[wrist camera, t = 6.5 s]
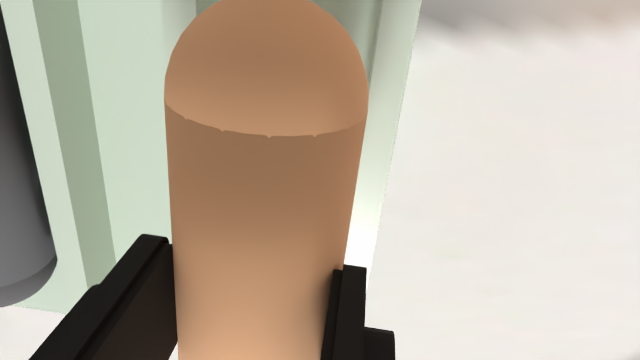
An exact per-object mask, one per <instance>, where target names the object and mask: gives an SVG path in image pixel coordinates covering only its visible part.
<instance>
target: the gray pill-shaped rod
mask: <svg viewBox="0 0 640 360" xmlns="http://www.w3.org/2000/svg"><path fill="white" fill-rule="evenodd" d="M57 260H58V259H57V254H56V250H55V245H54V241H53V236H52V232H51V227H50V223H49V218H48V214H47V210H46V205H45V201H44V196H43V192H42V187H41V183H40V178H39V174H38V169H37V165H36V161H35V156H34V152H33V147H32V143H31V138H30V134H29V129H28V125H27V120H26V116H25V112H24V107H23V103H22V98H21V94H20V89H19V85H18V80H17V76H16V71H15V67H14V62H13V58H12V54H11V49H10V45H9V40H8V36H7V31H6V27H5V22H4V18H3V13H2V9H1V5H0V307H5V306H9V305H13V304H16V303H19V302H21V301H23V300H25V299H27V298H29V297H31V296H32V295H34V294H35V293H37V292H38V291H39V290H40V289H41V288H42V287H43V286H44V285H45V284H46V283H47V282H48V280H49V279H50V278H51V276H52V274H53V272H54V270H55V268H56V265H57Z"/></svg>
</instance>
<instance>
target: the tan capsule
mask: <svg viewBox="0 0 640 360" xmlns="http://www.w3.org/2000/svg"><path fill="white" fill-rule="evenodd" d="M368 100H369V88H368V81H367V75H366V70H365V67H364V65H363V62H362V59H361V56H360V53H359V51H358V48H357V47H356V45H355V43H354V42H353V40H352V38H351V37H350V35H349V34H348V32H347V31H346V30H345V29H344V27H343V26H342V25H341V24H340V23H339V22H338V21H337V20H336V19H335V18H334V17H333V16H332V15H331V14H329V13H328V12H326V11H325V10H324V9H322V8H321V7H319V6H318V5H316V4H315V3H313V2H311V1H308V0H221V1H219V2H216V3H214V4H213V5H211V6H210V7H208V8H207V9H206V10H205V11H203V12H202V13H201V14H199V15H198V16H197V17H195V18H194V20H193V21H192V22H191V23H190V24H189V25H188V27H187V28H186V29H185V30H184V31H183V33H182V34H181V36H180V38H179V39H178V41H177V43H176V45H175V47H174V49H173V51H172V53H171V56H170V60H169V63H168V67H167V71H166V75H165V84H164V109H165V127H166V144H167V162H168V180H169V198H170V216H171V233H172V248H173V266H174V283H175V301H176V319H177V336H178V358H179V360H320V358H321V351H322V344H323V337H324V331H325V324H326V317H327V310H328V303H329V296H330V290H331V283H332V276H333V270H334V269H338V270H343V264H344V260H345V253H346V247H347V241H348V234H349V228H350V221H351V215H352V209H353V202H354V196H355V190H356V183H357V177H358V171H359V164H360V158H361V152H362V145H363V139H364V132H365V126H366V120H367V113H368Z"/></svg>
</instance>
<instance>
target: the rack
mask: <svg viewBox="0 0 640 360" xmlns="http://www.w3.org/2000/svg"><path fill="white" fill-rule="evenodd" d="M219 1H221V0H0V5H1V9H2V13H3V18H4V22H5V27H6V31H7V36H8V40H9V45H10V49H11V54H12V58H13V62H14V67H15V71H16V76H17V80H18V85H19V89H20V94H21V98H22V103H23V107H24V112H25V116H26V120H27V125H28V129H29V134H30V138H31V143H32V147H33V152H34V156H35V161H36V165H37V169H38V174H39V178H40V183H41V187H42V192H43V196H44V201H45V205H46V210H47V214H48V218H49V223H50V227H51V232H52V236H53V241H54V245H55V250H56V254H57V259H58V260H57V265H56V268H55V270H54V272H53V274H52V276H51V278H50V279H49V280H48V282H47V283H46V284H45V285H44V286H43V287H42V288H41V289H40V290H39V291H38V292H37V293H35V294H34V295H32V296H31V297H29V298H27V299H25V300H23V301H21V302H19V303H16V304H13V305H11V306H17V307H24V308H31V309H37V310H44V311H51V312H57V313H64V314H68V313H69V311H70V310H71V309H72V308H73V307H74V305H75V304H76V303H77V302H78V301H79V299H80V298H81V297H82V296H83V295H84V294H85V292H86V291H87V290H88V289H89V288H90V287H91V286H93V285H96V284H100V283H101V282H102V281H103V279H104V278H105V277H106V276H107V275H108V273H109V272H110V271H111V270H112V268H113V267H114V266H115V265H116V264H117V262H118V261H119V260H120V259H121V257H122V256H123V255H124V254H125V253H126V251H127V250H128V249H129V248H130V247H131V245H132V244H133V243H134V242H135V240H136V239H137V238H138V237H139V236H140V235H141V234H150V235H157V236H163V237H167V238H168V240H169V244H172V233H171V216H170V198H169V180H168V162H167V144H166V127H165V109H164V84H165V75H166V71H167V67H168V63H169V60H170V56H171V53H172V51H173V49H174V47H175V45H176V43H177V41H178V39H179V38H180V36H181V34H182V33H183V31H184V30H185V29H186V28H187V27H188V25H189V24H190V23H191V22H192V21H193V20H194V18H195V17H197V16H198V15H199V14H201V13H202V12H203V11H205V10H206V9H207V8H208V7H210V6H211V5H213V4H214V3H216V2H219ZM308 1H311V2H313V3H315V4H316V5H318V6H319V7H321V8H322V9H324V10H325V11H326V12H328V13H329V14H331V15H332V16H333V17H334V18H335V19H336V20H337V21H338V22H339V23H340V24H341V25H342V26H343V27H344V29H345V30H346V31H347V32H348V34H349V35H350V37H351V38H352V40H353V42H354V43H355V45H356V47H357V48H358V51H359V53H360V56H361V59H362V62H363V65H364V67H365V70H366V75H367V81H368V88H369V100H368V113H367V120H366V126H365V132H364V139H363V145H362V152H361V158H360V164H359V171H358V177H357V183H356V190H355V196H354V202H353V209H352V215H351V221H350V228H349V234H348V241H347V247H346V253H345V260H344V264H348V265H354V266H361V267H367V278H366V290H367V285H368V280H369V275H370V269H371V264H372V259H373V254H374V248H375V243H376V238H377V233H378V227H379V222H380V217H381V212H382V206H383V201H384V196H385V191H386V185H387V180H388V175H389V170H390V164H391V159H392V154H393V149H394V143H395V138H396V133H397V128H398V122H399V117H400V112H401V107H402V101H403V96H404V91H405V86H406V80H407V75H408V70H409V65H410V59H411V54H412V49H413V44H414V38H415V33H416V28H417V23H418V17H419V12H420V7H421V2H422V0H308Z"/></svg>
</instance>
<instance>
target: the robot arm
mask: <svg viewBox="0 0 640 360" xmlns="http://www.w3.org/2000/svg"><path fill="white" fill-rule="evenodd" d="M366 278H367V267H361V266H354V265H348V264H343V270H338V269H334V270H333V276H332V283H331V290H330V296H329V303H328V310H327V317H326V324H325V331H324V337H323V344H322V351H321V358H320V360H395V339H394V332H393V331H388V330H382V329H376V328H369V327H364V323H365V301H366ZM177 341H178V336H177V319H176V301H175V283H174V266H173V248H172V244H169V240H168V238H167V237H163V236H157V235H150V234H141V235H140V236H139V237H138V238H137V239H136V240H135V242H134V243H133V244H132V245H131V247H130V248H129V249H128V250H127V251H126V253H125V254H124V255H123V256H122V257H121V259H120V260H119V261H118V262H117V264H116V265H115V266H114V267H113V268H112V270H111V271H110V272H109V273H108V275H107V276H106V277H105V278H104V279H103V281H102V282H101V283H100V284H96V285H93V286H91V287H90V288H89V289H88V290H87V291H86V292H85V294H84V295H83V296H82V297H81V298H80V299H79V301H78V302H77V303H76V304H75V305H74V307H73V308H72V309H71V310H70V311H69V313H68V314H67V315H66V316H65V317H64V318H63V320H62V321H61V322H60V323H59V324H58V326H57V327H56V328H55V329H54V330H53V332H52V333H51V334H50V335H49V336H48V337H47V339H46V340H45V341H44V342H43V343H42V345H41V346H40V347H39V348H38V349H37V350H36V352H35V353H34V354H33V355H32V356H31V358H30V359H29V360H168V359H169V357H170V355H171V353H172V352H173V350H174V348H175V346H176V344H177Z"/></svg>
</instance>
